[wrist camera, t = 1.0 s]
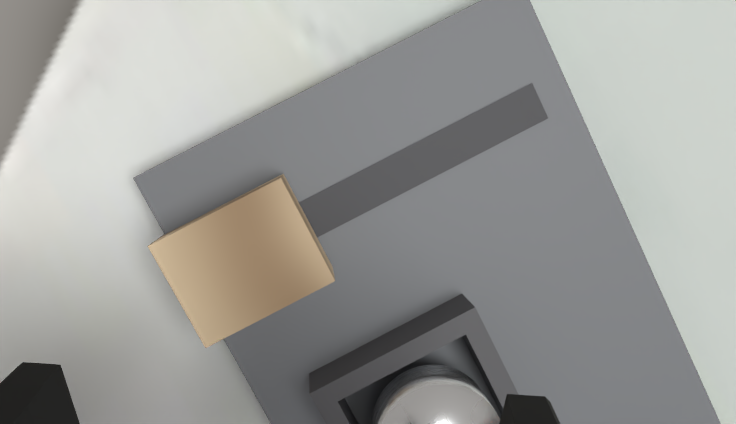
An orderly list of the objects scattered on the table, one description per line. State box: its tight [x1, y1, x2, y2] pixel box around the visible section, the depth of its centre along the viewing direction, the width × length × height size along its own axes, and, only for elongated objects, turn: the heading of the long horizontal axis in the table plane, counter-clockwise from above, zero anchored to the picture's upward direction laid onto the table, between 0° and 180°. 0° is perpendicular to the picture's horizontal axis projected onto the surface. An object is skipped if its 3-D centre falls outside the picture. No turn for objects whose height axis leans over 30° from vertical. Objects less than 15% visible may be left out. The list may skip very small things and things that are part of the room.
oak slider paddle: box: [148, 174, 335, 348], centre depth 19 cm, size 4×3×2 cm
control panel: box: [133, 0, 720, 424], centre depth 22 cm, size 13×21×3 cm, turn 27°
